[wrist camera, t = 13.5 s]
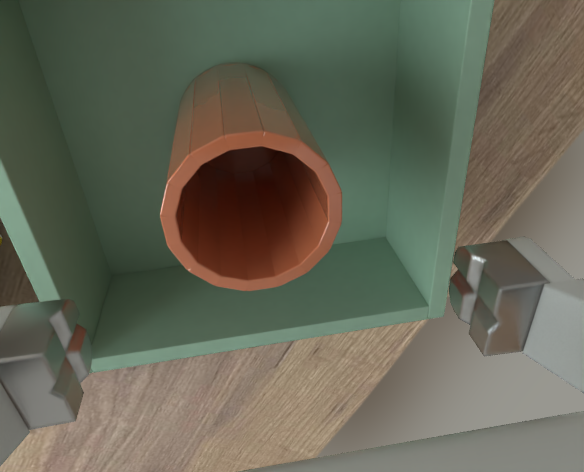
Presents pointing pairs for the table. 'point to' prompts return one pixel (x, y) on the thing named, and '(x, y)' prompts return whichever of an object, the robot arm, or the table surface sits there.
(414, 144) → the open box
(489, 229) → the table surface
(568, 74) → the table surface
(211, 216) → the cup
